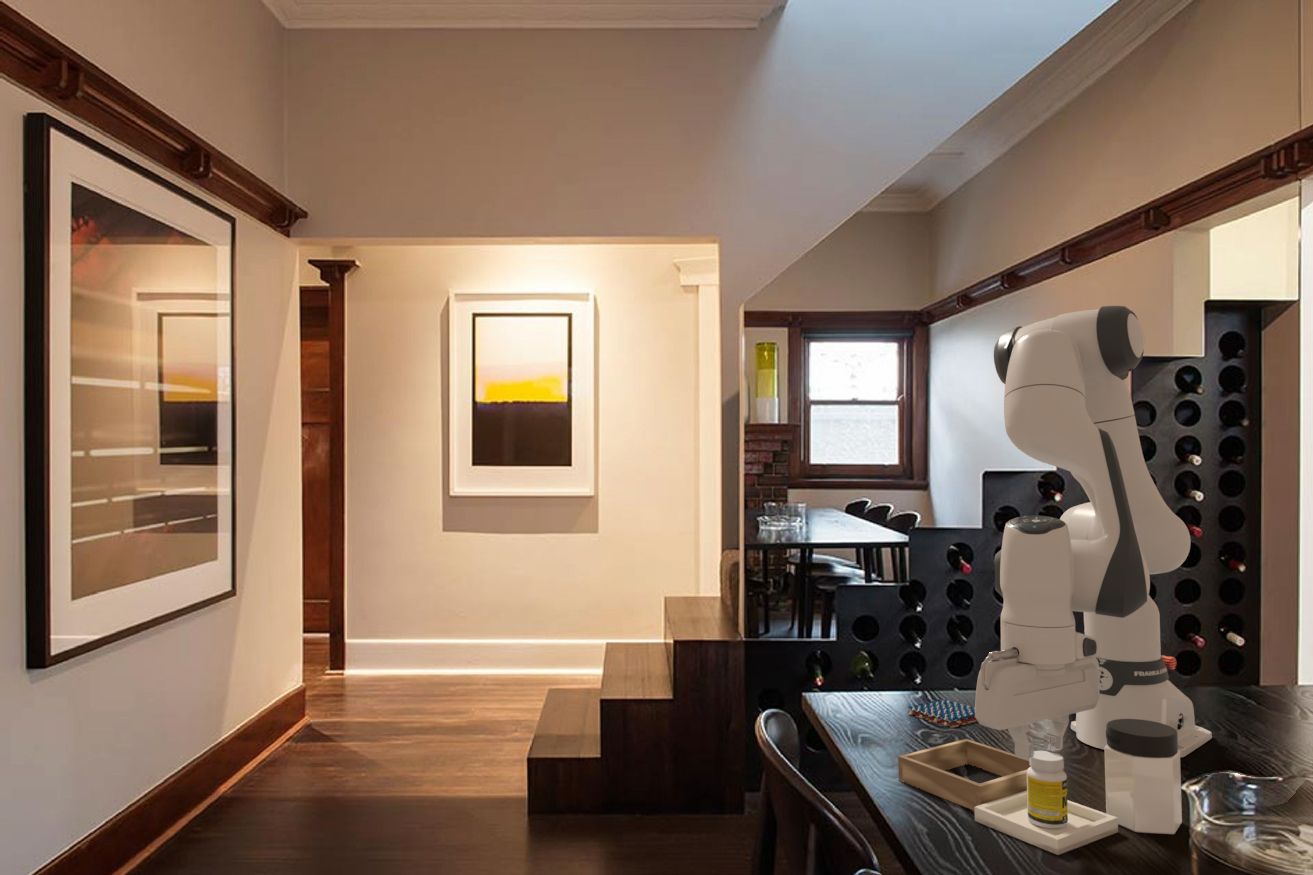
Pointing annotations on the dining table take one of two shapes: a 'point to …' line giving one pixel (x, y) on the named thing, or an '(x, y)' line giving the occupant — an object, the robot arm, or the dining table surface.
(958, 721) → the woven mat
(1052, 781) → the supplement bottle
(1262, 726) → the dining table surface
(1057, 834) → the tray
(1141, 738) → the jar
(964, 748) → the frame
